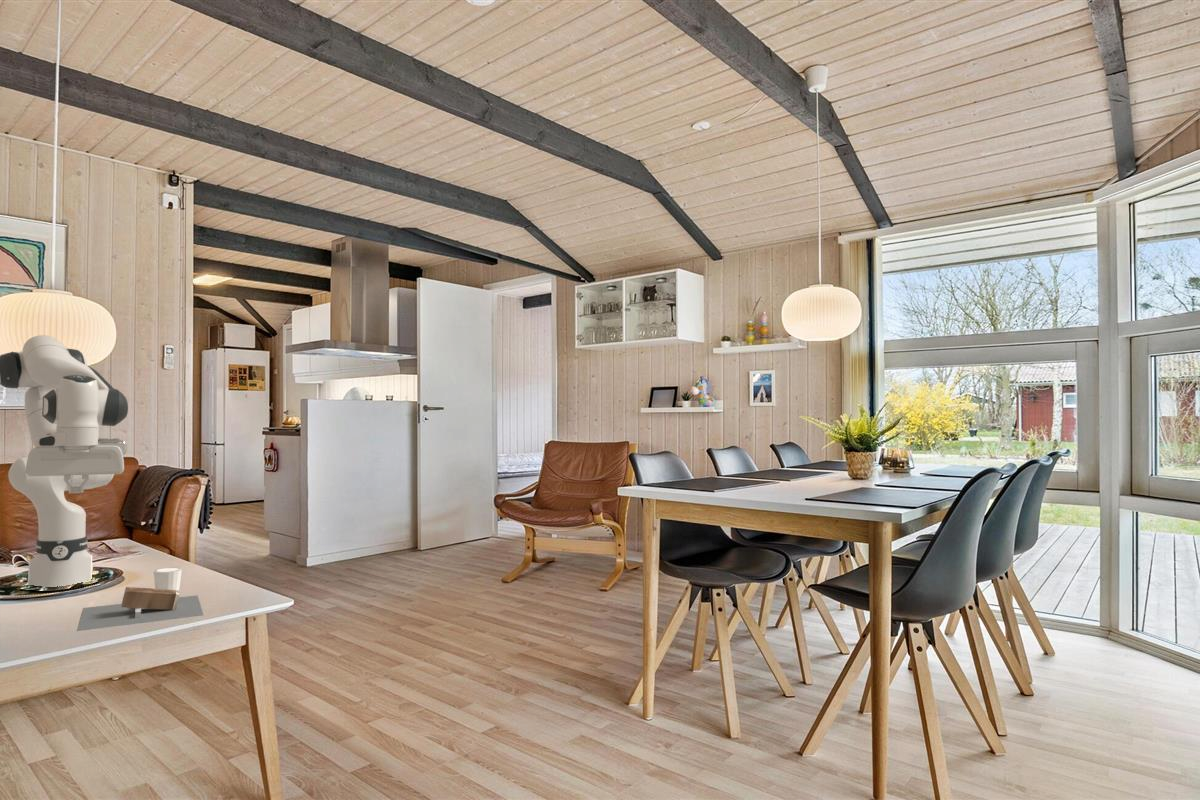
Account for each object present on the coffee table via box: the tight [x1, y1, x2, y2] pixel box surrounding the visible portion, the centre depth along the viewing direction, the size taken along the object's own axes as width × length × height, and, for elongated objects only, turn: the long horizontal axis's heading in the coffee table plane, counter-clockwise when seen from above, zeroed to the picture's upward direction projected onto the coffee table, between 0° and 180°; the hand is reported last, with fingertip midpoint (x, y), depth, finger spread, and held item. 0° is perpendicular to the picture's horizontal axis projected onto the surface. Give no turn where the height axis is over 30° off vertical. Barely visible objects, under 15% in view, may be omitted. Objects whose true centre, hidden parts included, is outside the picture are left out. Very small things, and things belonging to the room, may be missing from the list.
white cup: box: [153, 566, 183, 591], centre depth 202 cm, size 7×7×7 cm
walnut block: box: [121, 586, 180, 610], centre depth 184 cm, size 5×4×12 cm
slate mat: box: [76, 594, 204, 632], centre depth 183 cm, size 22×26×2 cm
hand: (76, 492), depth 181 cm, fingers closed
